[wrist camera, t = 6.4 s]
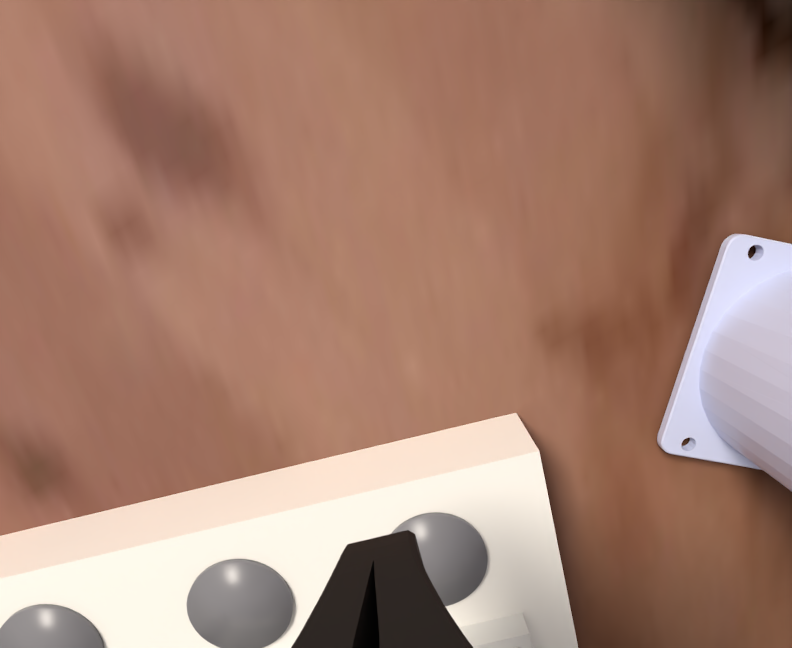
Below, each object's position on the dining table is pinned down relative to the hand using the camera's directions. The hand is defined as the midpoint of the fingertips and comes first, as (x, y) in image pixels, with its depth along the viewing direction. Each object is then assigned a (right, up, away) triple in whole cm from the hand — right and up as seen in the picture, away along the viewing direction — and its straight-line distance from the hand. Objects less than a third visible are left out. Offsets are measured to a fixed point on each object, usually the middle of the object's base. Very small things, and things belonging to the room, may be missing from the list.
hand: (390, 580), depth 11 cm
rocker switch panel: (-4, -7, +11) cm, 14 cm away
